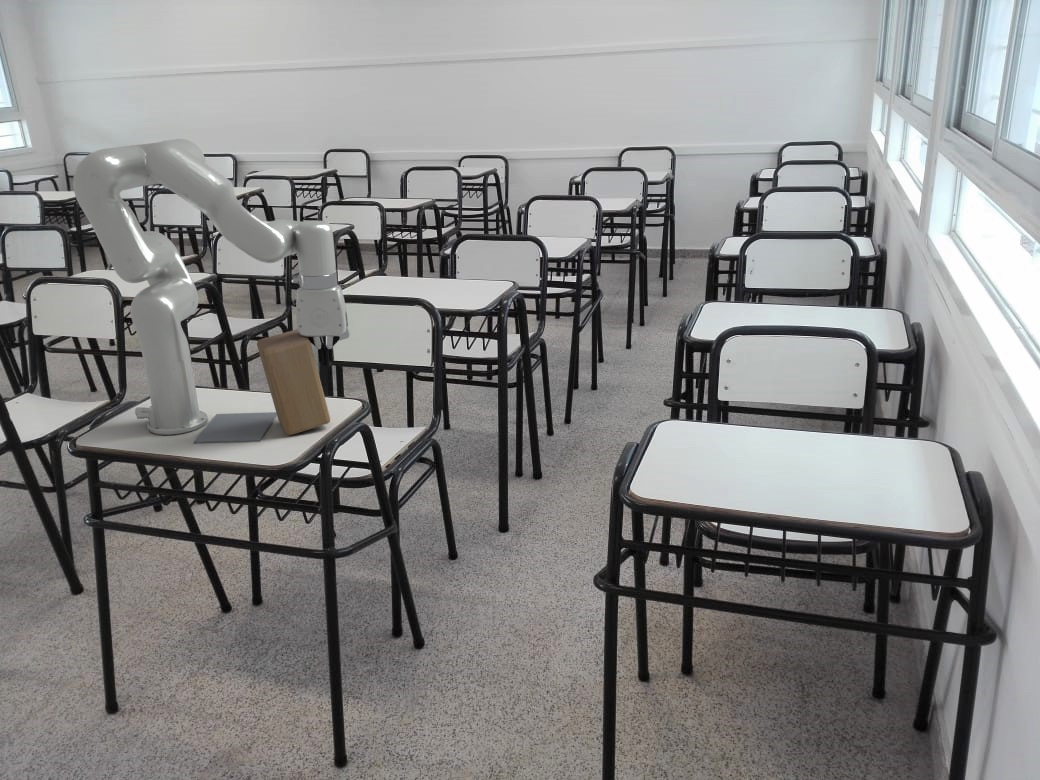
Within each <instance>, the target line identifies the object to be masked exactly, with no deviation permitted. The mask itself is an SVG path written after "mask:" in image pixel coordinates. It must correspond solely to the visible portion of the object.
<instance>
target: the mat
mask: <svg viewBox="0 0 1040 780" xmlns="http://www.w3.org/2000/svg"><path fill="white" fill-rule="evenodd" d="M277 417H278V416H277V413H276V411H274V412H273V411H271V412H268V411H267V412H239V413H237V412H236V413H234V412H233V413H216V414H215V415H214V416H213V418H212V419H211V420H210V421H209V422H208V423H207V425H206V426H205V427H204V428H203V429H202V431H201V432H200V433H199V434H198V435H197V436H196V438H195V439H194V440H193V444H211V443H212V444H213V443H215V444H217V443H247V442H261V440H262V439H263V437H264V436H265V434H266V433H267V432H268V430H269V428H270V427H271V425H272V424H273V422H274V421H275V419H276V418H277Z"/></svg>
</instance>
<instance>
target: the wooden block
mask: <svg viewBox="0 0 1040 780" xmlns="http://www.w3.org/2000/svg"><path fill="white" fill-rule="evenodd" d="M256 346H257V350H258V354H259V357H260V360H261V364H262V367H263V371H264V374H265V378H266V381H267V385H268V388H269V391H270V395H271V398H272V403H273V405H274V406H273V407H274V409H275V412H276V413H277V416H276V417H277V419H278V422H279V424H280V425H281V427H282V429H283V431H284V433H285V434H286V435H287V436H291V435H295V434H299V433H301V432H306V431H308V430H311V429H315V428H318V427H322V426H324V425H328V424H329V423H330V421H331V416H330V412H329V409H328V404H327V400H326V396H325V391H324V389H323V386H322V381H321V379H320V375H319V370H318V367H317V363H316V359H315V355H314V351H313V347H312V343H311V342H310V341H309V339H308V338H307V337H304V336H301V335H299V334H298V330H297V329H292V330H290V331H285V332H282V333H279V334H275V335H271V336H267V337H264V338H261V339H258V340H257V342H256Z"/></svg>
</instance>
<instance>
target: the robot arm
mask: <svg viewBox="0 0 1040 780" xmlns="http://www.w3.org/2000/svg"><path fill="white" fill-rule="evenodd" d="M72 185H73V192H74V195H75V199H76V201H77V203H78V205H79V207H80V208H81V211H82V212H83V214H84V215H85V217H86V219H88V222H89V224H90V225H91V227H92V229H93V230H94V233H95V234H96V237H97V239H98V241H99V244H100V245H101V247H102V249H103V250H104V253H105V255H106V256H107V258H108V261H109V262H110V264H111V266H112V267H113V270H114V271H115V273H116V274H117V276H118V277H119V278H120V279H121V280H123V282H126V283H129V284H130V283H131V284H139V283H142V282H146V281H147V283H148V285H149V286H147V287H145V288H142V290H140V291H139V292H138V293H137V294H136V295H135V296H134V297H133V298H132V301H131V304H130V317H131V321H132V324H133V326H134V329H135V331H136V334H137V337H138V341H139V345H140V350H141V354H142V359H143V365H144V370H145V375H146V382H147V387H148V393H149V399H150V404H151V405H150V406H149V407H145V406H142V407H136V408H135V409H134V413H135V417H136V419H137V420H140V419H141V420H142V419H147V420H149V421H148V422H147V426H146V427H147V429H148V431H149V432H150V433H152V434H156V435H164V436H166V435H179V434H184V433H189V432H192V431H195V430H198V429H200V428H201V427H204V426H205V425H206V424H208V421H209V419H208V416H209V415H208V414H207V413H206V412H205V411H203V410H200V408H199V407H200V406H199V401H198V394H197V388H196V382H195V376H194V370H193V364H192V358H191V351H190V347H189V346H190V345H189V342H188V338H187V336H186V334H185V332H184V330H183V328H182V325H181V324H182V321H184V320H185V319H187V318H189V317H190V316H192V315H193V314H194V313H195V312H196V310H197V308H198V306H199V301H200V300H199V293H198V289H197V288H196V287H197V286H196V285H195V283H194V281H193V279H192V277H191V274H190V273H189V271H188V270H189V269H187V267H186V265H185V263H184V260H183V259H182V256H181V255H180V253H179V251H178V249H177V248H176V246H175V244H174V243H173V242H172V241H171V239H169V237H167V236H166V235H164V234H163V233H160V232H158V231H154V230H146V231H144V230H143V228H142V227H141V224H140V223H139V221H138V219H137V216H136V215H135V213H134V211H133V210H132V209H131V207H130V206H129V205H128V204H127V203H126V202H125V200H124V199H122V196H121V192H123V191H127V190H132V189H135V188H140V187H147V186H153V185H162V186H164V187H165V188H167V189H168V190H169V191H171V192H172V193H174V194H175V195H178V197H179V198H181V199H182V200H184V201H185V202H187V203H189V204H190V205H191V206H193V207H194V208H195V209H197V210H199V211H200V212H202V213H203V214H204V215H205V216H206V217H207V218H208V219H209V221H210V222H211V224H212V225H213V226H214V228H216V230H217V231H218V232H219V233H220V234H221V236H223V238H225V240H227V241H228V242H229V243H230V244H232V245H233V246H235V247H236V248H237V249H239V250H241V251H242V252H243V253H245V254H246V255H248V256H250V257H251V258H253V259H254V260H256V261H259V262H261V263H264V264H275V263H277V262H280V261H281V260H283V259H285V258H287V257H289V256H292V255H294V254H296V255H297V265H298V273H299V274H298V275H296V276H292V282H293V284H298V285H299V288H297V289H296V299H295V305H296V306H295V311H296V313H295V314H296V315H295V316H296V328H297V329H296V330H298V334H299V335H301V336H304V337H307V338H308V339H309V341H310V342H311V345H313V346H314V348H315V349H316V350H317V355H318V362H319V363H321V367H322V368H326V367H327V368H331V366H332V364H333V362H335V355H334V353H335V352H334V346H335V345H336V344H337V343H338V342H339V341H342V340H346V339H349V338H350V334H351V333H350V331H349V328H348V326H349V319H348V313H347V307H346V306H347V305H346V302H345V301H346V300H345V297H344V293H343V289H342V286H340V285H338V278H337V277H338V276H337V275H338V274H337V267H336V256H335V255H336V252H335V243H334V232H333V228H332V225H331V223H329V222H328V221H325V220H307V221H299V220H294V219H292V220H291V219H285V218H284V219H283V218H282V219H279V218H278V219H275V220H272V221H270V222H267V223H266V222H264V221H263V220H261V219H260V218H258V217H257V216H255V215H254V214H253V213H251V212H250V211H249V210H248V209H246V208H245V207H244V206H243V205H242V204H241V203H240V202H239V200H238V198H237V197H236V194H235V193H236V192H235V187H234V185H233V182H232V181H231V180H230V179H228V178H227V177H226V176H224V175H223V174H221V173H219V172H218V171H216V170H215V169H214V168H212V167H211V166H209V165H208V164H207V163H206V158H205V155H204V152H203V151H202V149H201V148H200V147H199V146H198V145H197V144H196V143H194V142H192V141H190V140H188V139H185V138H175V139H167V140H162V141H158V142H151V143H141V144H134V145H133V144H132V145H124V146H116V147H108V148H102V149H99V150H98V149H97V150H96V151H93V152H91V153H89V154H87V155H86V156H85V157H84V158H83V159H82V160H81V161H80V162H79V163H78V165H77V167H76V168H75V170H74V174H73V179H72ZM323 337H326V344H325V343H324V341H323Z"/></svg>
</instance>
